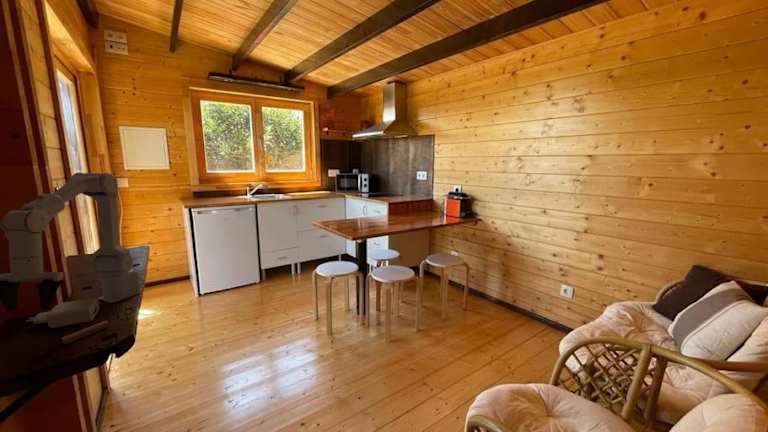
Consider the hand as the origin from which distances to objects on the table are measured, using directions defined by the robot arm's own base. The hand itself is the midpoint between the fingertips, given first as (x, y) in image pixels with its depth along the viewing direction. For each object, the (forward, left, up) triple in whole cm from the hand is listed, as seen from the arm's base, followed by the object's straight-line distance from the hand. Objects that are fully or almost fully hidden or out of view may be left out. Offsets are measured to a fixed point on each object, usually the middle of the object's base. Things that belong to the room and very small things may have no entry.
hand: (29, 309), depth 83 cm
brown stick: (-8, +5, -10) cm, 14 cm away
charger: (-9, -10, -11) cm, 18 cm away
